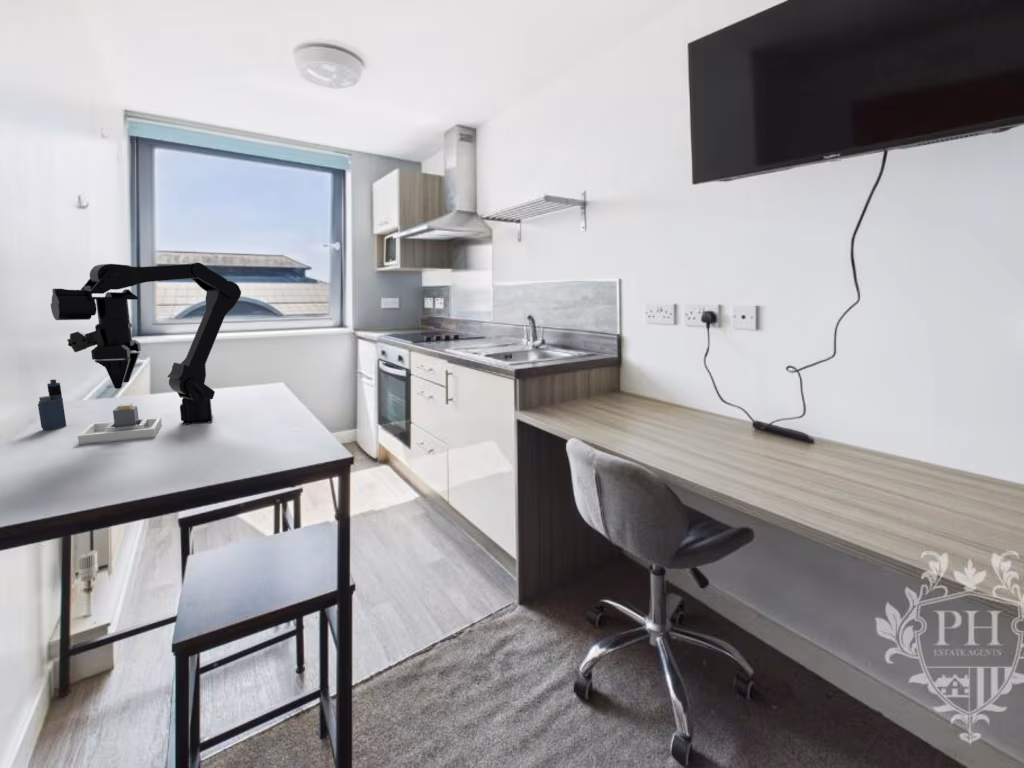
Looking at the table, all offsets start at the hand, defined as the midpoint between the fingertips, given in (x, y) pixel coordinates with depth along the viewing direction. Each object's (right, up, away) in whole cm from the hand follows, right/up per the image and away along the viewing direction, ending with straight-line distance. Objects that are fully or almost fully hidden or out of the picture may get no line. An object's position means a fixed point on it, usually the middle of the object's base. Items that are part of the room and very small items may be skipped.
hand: (122, 385), depth 117 cm
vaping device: (-22, -11, +6) cm, 25 cm away
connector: (0, -11, +2) cm, 12 cm away
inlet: (0, -12, +2) cm, 12 cm away
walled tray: (-1, -12, +2) cm, 12 cm away
